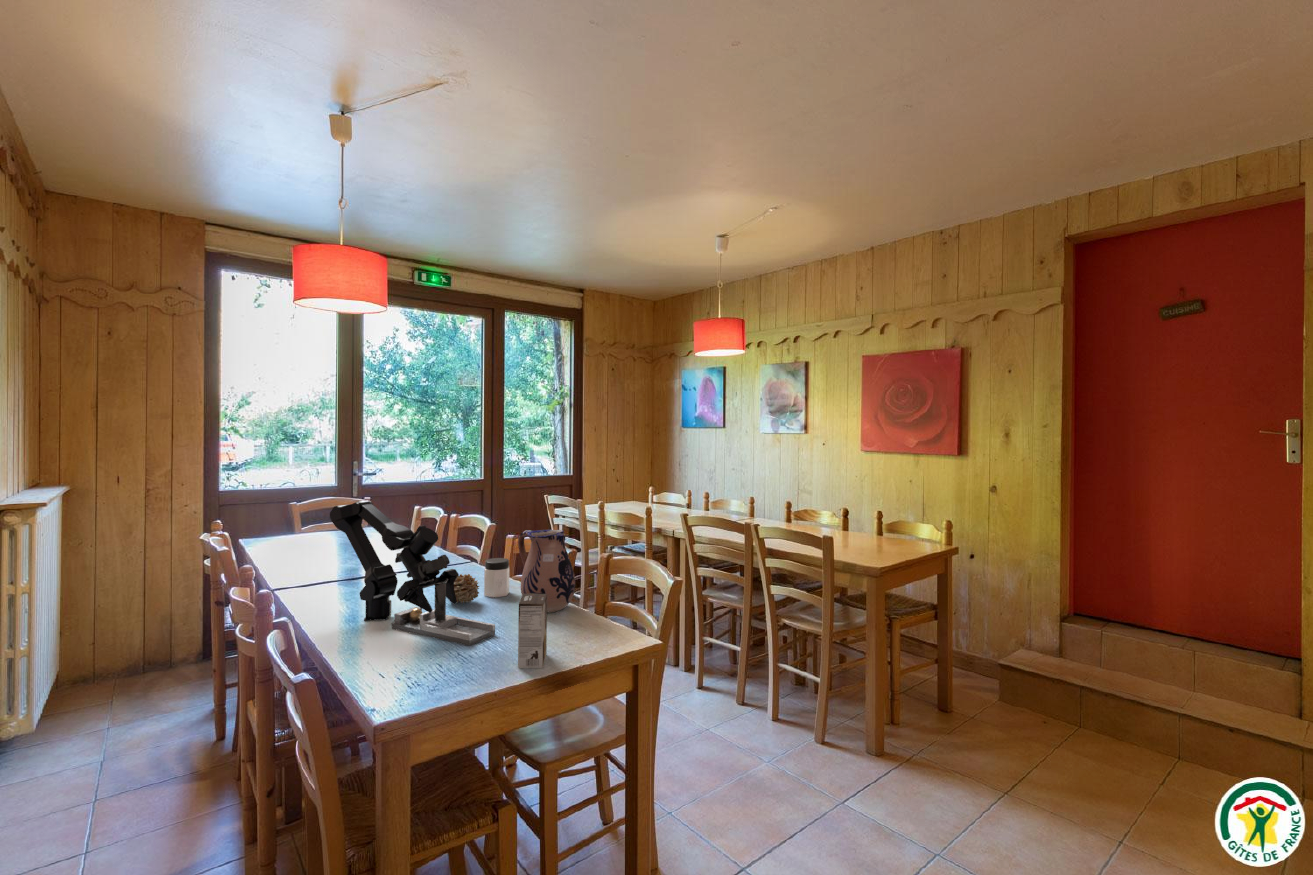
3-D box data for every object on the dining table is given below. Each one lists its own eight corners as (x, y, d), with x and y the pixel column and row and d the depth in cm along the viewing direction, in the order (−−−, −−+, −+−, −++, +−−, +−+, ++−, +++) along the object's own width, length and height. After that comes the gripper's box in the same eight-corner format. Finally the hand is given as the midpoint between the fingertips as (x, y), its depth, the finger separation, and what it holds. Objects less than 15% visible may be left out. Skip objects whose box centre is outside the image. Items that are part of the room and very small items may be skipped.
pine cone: (487, 604, 202) (487, 574, 202) (461, 610, 195) (461, 579, 195) (452, 592, 217) (452, 564, 217) (426, 597, 209) (426, 568, 209)
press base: (391, 628, 177) (391, 610, 177) (418, 618, 186) (418, 602, 186) (469, 646, 164) (469, 627, 164) (495, 634, 173) (495, 617, 173)
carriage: (419, 626, 174) (420, 584, 174) (438, 619, 180) (438, 579, 180) (438, 630, 171) (438, 588, 171) (456, 623, 177) (457, 582, 177)
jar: (488, 598, 209) (488, 563, 209) (480, 593, 216) (480, 559, 215) (513, 595, 214) (513, 561, 214) (505, 589, 221) (505, 556, 220)
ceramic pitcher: (558, 620, 187) (559, 538, 187) (499, 612, 194) (500, 533, 194) (584, 604, 203) (585, 529, 203) (529, 597, 211) (530, 525, 210)
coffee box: (521, 654, 158) (522, 592, 158) (547, 654, 159) (547, 592, 158) (516, 668, 149) (517, 603, 149) (543, 668, 150) (544, 602, 149)
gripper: (404, 552, 169) (433, 598, 164) (454, 542, 185) (482, 582, 180) (384, 577, 172) (412, 622, 167) (435, 564, 189) (461, 605, 184)
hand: (443, 607), depth 175 cm, fingers open, 9 cm apart
